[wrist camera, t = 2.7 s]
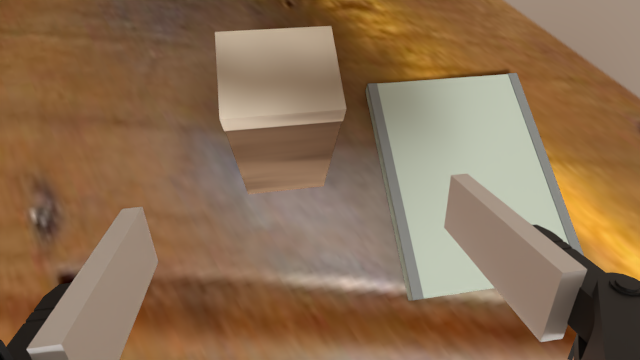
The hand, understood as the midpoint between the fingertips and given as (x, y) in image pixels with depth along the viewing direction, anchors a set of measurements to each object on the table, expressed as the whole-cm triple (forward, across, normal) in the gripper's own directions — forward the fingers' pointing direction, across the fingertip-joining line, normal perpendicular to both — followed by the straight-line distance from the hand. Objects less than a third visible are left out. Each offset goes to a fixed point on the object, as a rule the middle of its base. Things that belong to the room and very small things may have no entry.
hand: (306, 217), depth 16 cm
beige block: (+14, 0, -3) cm, 14 cm away
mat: (+12, +15, -5) cm, 20 cm away
